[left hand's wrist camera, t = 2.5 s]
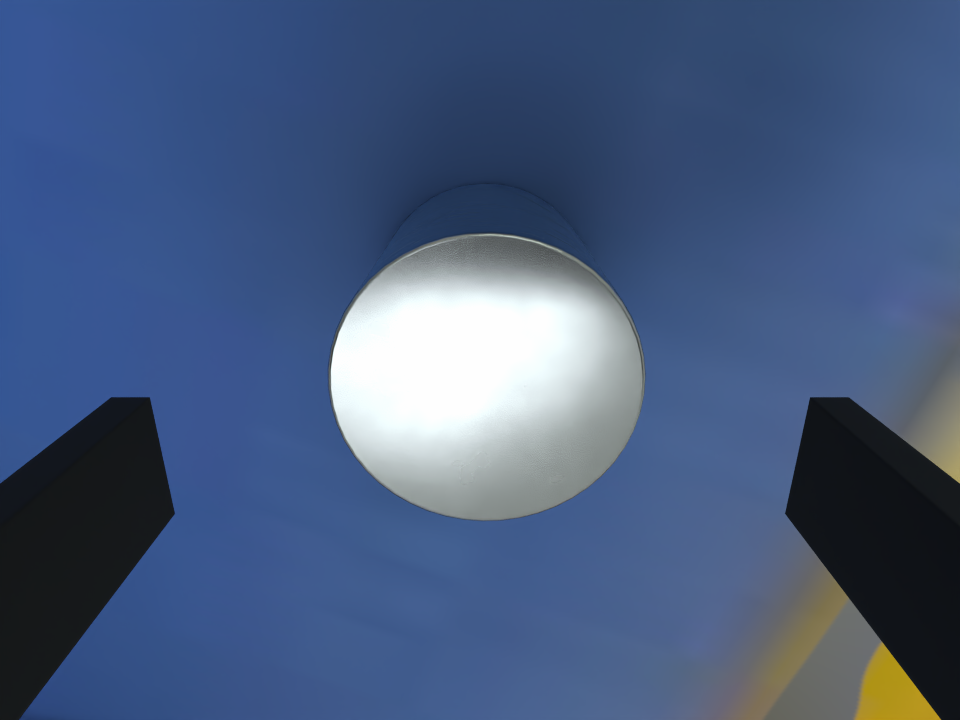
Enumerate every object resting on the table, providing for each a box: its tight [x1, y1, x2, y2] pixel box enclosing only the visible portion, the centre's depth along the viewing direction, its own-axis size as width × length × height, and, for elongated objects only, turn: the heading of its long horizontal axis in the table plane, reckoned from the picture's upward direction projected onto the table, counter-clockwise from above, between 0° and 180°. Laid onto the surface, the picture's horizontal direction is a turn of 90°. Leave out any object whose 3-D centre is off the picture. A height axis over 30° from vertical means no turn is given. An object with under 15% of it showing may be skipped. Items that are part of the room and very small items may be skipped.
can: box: [328, 183, 645, 521], centre depth 19 cm, size 8×8×8 cm
